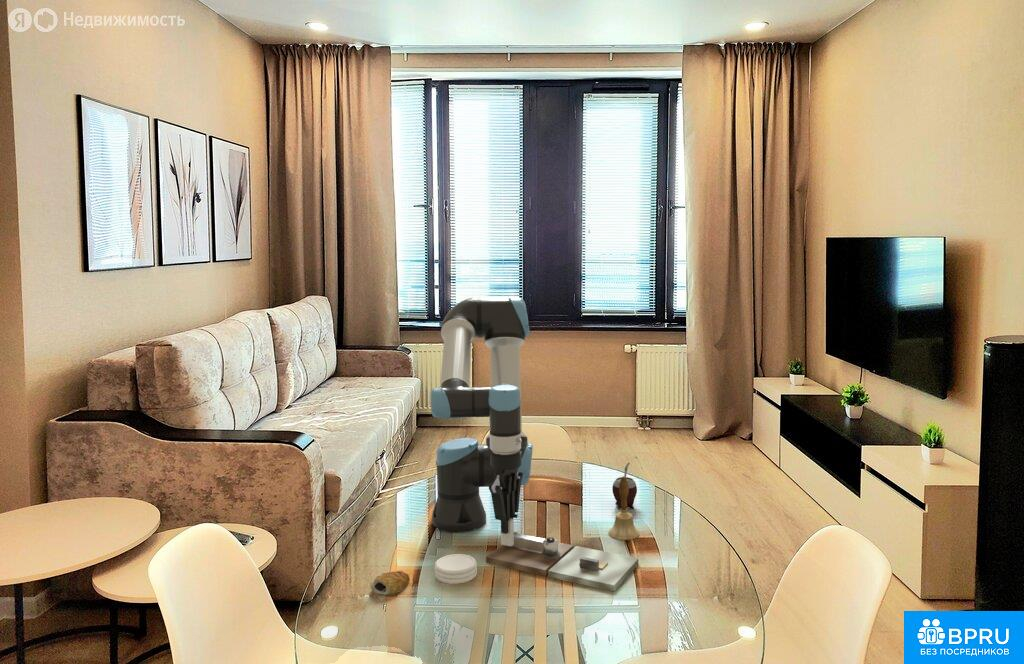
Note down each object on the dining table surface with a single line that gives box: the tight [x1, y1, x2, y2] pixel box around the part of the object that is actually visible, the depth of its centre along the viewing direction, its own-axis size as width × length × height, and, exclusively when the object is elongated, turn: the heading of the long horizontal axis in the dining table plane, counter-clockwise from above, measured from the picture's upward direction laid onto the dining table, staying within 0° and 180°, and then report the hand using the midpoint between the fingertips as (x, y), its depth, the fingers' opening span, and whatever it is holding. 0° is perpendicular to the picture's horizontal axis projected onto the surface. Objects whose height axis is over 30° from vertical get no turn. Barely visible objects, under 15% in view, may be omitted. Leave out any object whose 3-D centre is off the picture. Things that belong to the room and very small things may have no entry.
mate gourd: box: [611, 462, 638, 510], centre depth 237 cm, size 8×8×15 cm
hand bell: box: [607, 476, 641, 541], centre depth 217 cm, size 8×8×16 cm
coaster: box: [434, 553, 478, 585], centre depth 196 cm, size 10×10×4 cm
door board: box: [485, 541, 639, 592], centre depth 201 cm, size 34×16×4 cm, turn 61°
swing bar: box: [506, 531, 559, 556], centre depth 205 cm, size 15×4×4 cm, turn 61°
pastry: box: [370, 570, 410, 596], centre depth 190 cm, size 9×7×4 cm
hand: (507, 544), depth 199 cm, fingers closed
